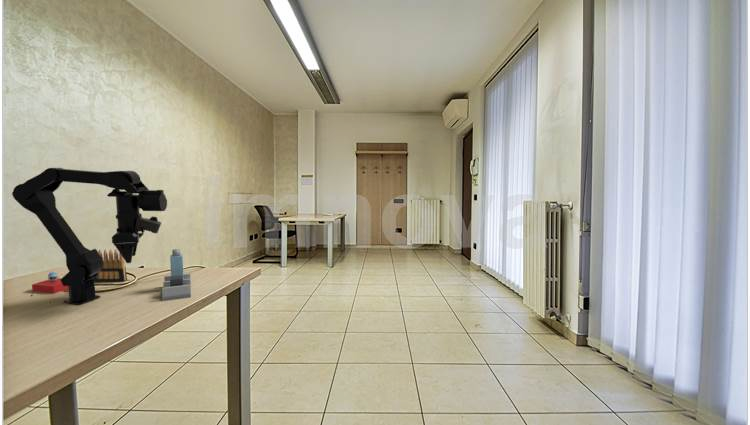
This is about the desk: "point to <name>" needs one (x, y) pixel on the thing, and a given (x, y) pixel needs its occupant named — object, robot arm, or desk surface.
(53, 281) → the red block with knob
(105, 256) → the ammunition clip
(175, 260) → the blue plug
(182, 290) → the organizer
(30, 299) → the desk surface
